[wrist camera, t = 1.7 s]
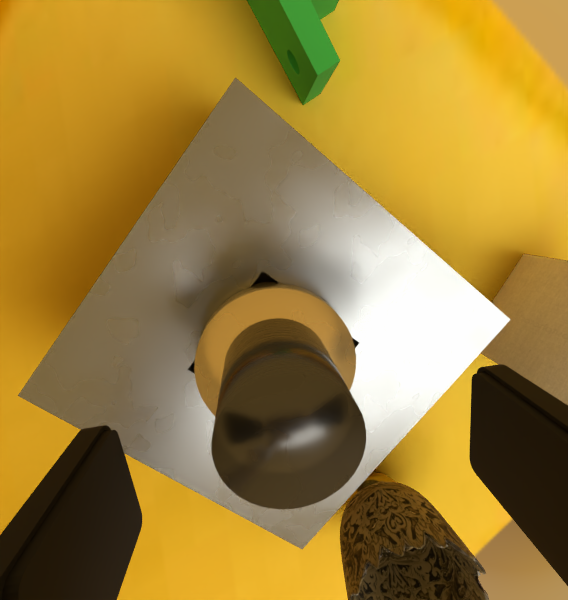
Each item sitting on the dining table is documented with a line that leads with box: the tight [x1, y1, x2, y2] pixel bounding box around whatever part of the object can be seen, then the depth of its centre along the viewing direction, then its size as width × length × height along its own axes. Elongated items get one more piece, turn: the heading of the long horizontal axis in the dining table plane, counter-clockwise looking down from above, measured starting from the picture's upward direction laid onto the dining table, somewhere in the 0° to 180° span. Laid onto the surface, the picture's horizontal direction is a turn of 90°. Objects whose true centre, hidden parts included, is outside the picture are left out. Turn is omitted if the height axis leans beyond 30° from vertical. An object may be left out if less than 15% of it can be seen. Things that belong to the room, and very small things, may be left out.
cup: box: [340, 472, 489, 600], centre depth 22 cm, size 8×7×8 cm
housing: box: [18, 78, 510, 549], centre depth 19 cm, size 16×16×6 cm
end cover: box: [194, 282, 366, 509], centre depth 15 cm, size 7×7×11 cm
